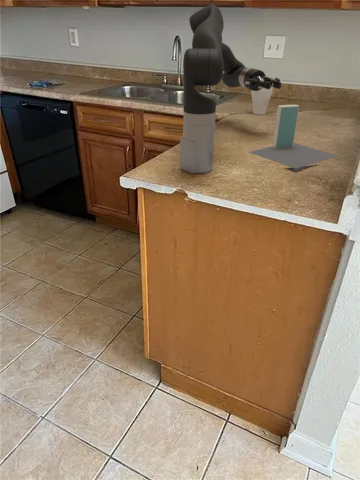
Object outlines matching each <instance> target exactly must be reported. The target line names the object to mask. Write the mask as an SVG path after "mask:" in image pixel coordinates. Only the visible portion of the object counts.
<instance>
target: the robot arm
mask: <svg viewBox="0 0 360 480" xmlns="http://www.w3.org/2000/svg"><path fill="white" fill-rule="evenodd" d="M223 17H224V16H223V14H222V12H221V9H220V8H219V7H218V6H217V5H216V4H213V3H211V4H208V5H206V6H204V7H203V8H201V9H200V10H198V11H196V12H194V13H193V14H191V15H190V17H189V25H190V29H191V31H192V35H193V36H192V43H191V46H192V47H191V48H187V49H186V50H185V51H184V54H183V61H182V69H183V70H182V73H183V75H182V76H183V127H182V137H180V139H179V144H180V145H179V149H180V150H179V151H180V152H179V169H180V170H182V171H185V172H187V173H189V174H191V175H194V174H206V173H210V172H212V170H213V164H214V163H213V162H214V145H215V130H216V128H215V127H216V111H217V103H216V101H215V99H212V98H211V97H207V96H206V95H203V94H202V93H200V92H199V91H198V90H197V89H196V87H197V86H198V87H199V86H200V87H202V86H203V87H212V86H213V87H215V86H217V85H219V84H220V82H221V81H222V83H223V85H225V86H227V87H228V88H236V87H237V88H238V87H243V88H244V89H247V90H250V91H251V90H252V91H259V90H261V89H262V88H265V89H270V88H272V87H273V89H277V90H280V89H281V88H282V81H281V79H280V78H279V77H274V78H273V77H271V76H270V77H269V76H267V75H266V74H265V72H264V71H263V70H260V69H256V68H251V67H246V66H245V65H244V63H243V62H241V61H240V60H238V59H237V58H236V56H235V54H234V53H233V51H232V49H231V48H230V46H229V45H227V44H226V43H224V42H223V31H224V27H225V26H224V18H223ZM272 84H273V85H272Z"/></svg>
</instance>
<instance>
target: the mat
mask: <svg viewBox="0 0 360 480" xmlns="http://www.w3.org/2000/svg"><path fill="white" fill-rule="evenodd" d="M272 146H273V145H271V146H267V147H262V148H260V149H255V150H251V151H249V153H251V154H253V155H256V156H258V157H261V158H264V159H267V160H270V161H273V162H276V163H277V164H282V165H284V166H287V168H284V169H285V170H288V171H291V172H292V173H293V172H294V173H297V172H300V171H303V169H304V170H307V169H310V167H311V168H313V166H314V167H316V166H318V164H317V163H319V162H323V161H326V160H329V159H332V158H336V157H339V155H337V154H334V153H331V152H327V151H324V150H320V149H317V148H313V147H310V146H306V145H303V144H300V143H297V142H293V147H284V148H274V147H272Z"/></svg>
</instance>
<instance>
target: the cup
mask: <svg viewBox="0 0 360 480" xmlns="http://www.w3.org/2000/svg"><path fill="white" fill-rule="evenodd" d="M272 85H273V83H272ZM273 89H274V87H272V88H270V89H265V88H262V89H261V90H259V91H252V90H250V92H251V100H252V114H254V115H257V116H258V115H260V116H263V115H265V114H266V112H267V107H268V105H269V102H270V99H271V97H272V93H273Z"/></svg>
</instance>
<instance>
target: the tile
mask: <svg viewBox="0 0 360 480" xmlns="http://www.w3.org/2000/svg"><path fill="white" fill-rule="evenodd" d="M299 108H300V105H299V104H283V105H282V104H281V105H277V108H276V109H277V111H276V115H275V116H276V118H275V123H274V125H275V126H274V132H273V137H272V139H273V140H272V145H271V146H272V147H274V148H284V147H293V143H294V140H295V135H296V129H297V122H298V117H299V110H300V109H299Z"/></svg>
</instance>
